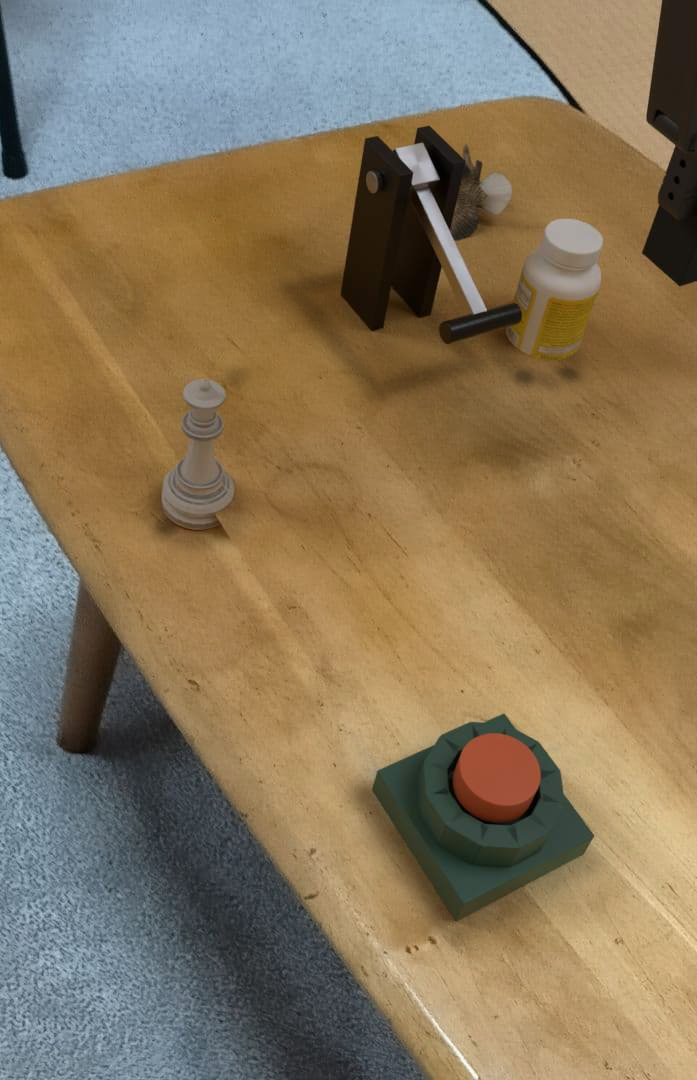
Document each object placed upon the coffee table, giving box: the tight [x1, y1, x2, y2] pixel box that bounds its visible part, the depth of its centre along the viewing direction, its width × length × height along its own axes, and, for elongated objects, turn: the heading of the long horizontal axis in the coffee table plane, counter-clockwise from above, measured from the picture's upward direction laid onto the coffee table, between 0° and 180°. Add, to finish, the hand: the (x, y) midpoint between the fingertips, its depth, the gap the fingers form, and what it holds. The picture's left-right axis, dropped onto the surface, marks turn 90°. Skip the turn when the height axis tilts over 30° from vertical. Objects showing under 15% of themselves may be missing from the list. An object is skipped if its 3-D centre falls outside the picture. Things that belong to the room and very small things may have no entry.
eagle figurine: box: [450, 144, 514, 242], centre depth 95 cm, size 8×7×9 cm
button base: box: [371, 713, 595, 922], centre depth 62 cm, size 8×8×4 cm
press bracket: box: [340, 125, 466, 332], centre depth 84 cm, size 12×8×14 cm, turn 30°
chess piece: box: [161, 378, 235, 531], centre depth 71 cm, size 4×4×10 cm
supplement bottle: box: [505, 218, 604, 361], centre depth 86 cm, size 5×5×10 cm
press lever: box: [392, 143, 522, 345], centre depth 80 cm, size 13×6×2 cm, turn 30°
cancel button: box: [453, 733, 541, 823], centre depth 60 cm, size 4×4×2 cm
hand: (672, 265), depth 57 cm, fingers closed
